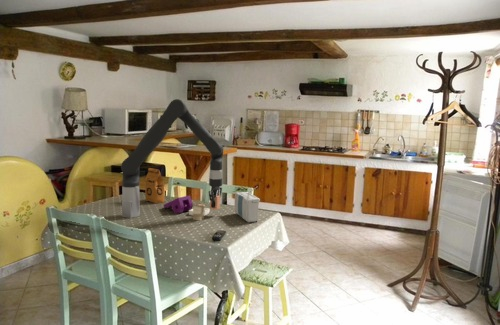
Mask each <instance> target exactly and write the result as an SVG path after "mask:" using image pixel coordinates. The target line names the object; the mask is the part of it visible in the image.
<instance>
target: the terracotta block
mask: <svg viewBox="0 0 500 325" xmlns="http://www.w3.org/2000/svg"><path fill="white" fill-rule="evenodd" d="M214 196H215V195H214ZM221 197H222V195H221V196H220V195H217V197H216V200H215V208H212V207H211V201H210V200H209V209H210V210H216V211H217V210H219V209H221Z"/></svg>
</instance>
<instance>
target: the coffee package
mask: <svg viewBox="0 0 500 325" xmlns="http://www.w3.org/2000/svg"><path fill="white" fill-rule="evenodd" d="M147 170H148V172H147V174H146V177H145V180H144V184H145V185H144V188H145V191H144V193H145V194H144V195H145V201H148V202H150V203H153V204H162V203H164V202H165V185H164V183H165V182H164V179H163V176H162V174H161V172H160V169H157V168H151V167H149V168H148V169H147Z"/></svg>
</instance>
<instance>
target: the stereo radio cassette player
mask: <svg viewBox="0 0 500 325" xmlns="http://www.w3.org/2000/svg"><path fill="white" fill-rule="evenodd" d="M256 188H258V185H257V186H256V187H254V188H253V189H251V191H250V192H248V191H240V192H238V191H237V192H234V213H236V214H237V216H239V217H240V218H242V219H243V220H244V221H246V222H247V223H253V222H254V223H255V222H256V221H257V222H258V221H259V205H260V204H259V203H260V201H261V199H260V198H259V197H258V196H256V195H255V194H252V192H253V191H254V190H255V189H256Z"/></svg>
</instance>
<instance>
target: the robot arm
mask: <svg viewBox="0 0 500 325" xmlns="http://www.w3.org/2000/svg"><path fill="white" fill-rule="evenodd" d="M178 119H180V120H181V121H182V122H183V123H184V124H185V125H186V126H187V127H188V129H189V130H190V131H191V132H192V133H193V134H194V136H195V137H196V138H197V139H198V140H199V141H200V142H201V143H202V144H203V145H204V147H205V148H206V149H207V151H208V152H209V153H210V154H211V155H210V162H209V172H208V173H209V175H208V177H209V178H208V185H209V187H211V188H210V190H209V191H208V198H209V199H208V200H209V202H210V201H211V207H212V208H215V200H216V197H217V195H220V196H221V197H222V191H223V187H222V186H223V157H224V146H223V144H222V143H221V142H217V141H216V139H215V138H214V137H213V135H212V134H211V132H209V130H208V129H207V128H206V127H205V126H204V125H203V124H202V123H201V122H199V120H197V119H196V117H195V116H194V115H193V114H192V113H191V111H190V110H189V109H188V106H187V105H186V103H185V101H183V100H182V99H180V98H179V99H178V98H176V99H173V100H171V101H170V102H169V104H168V106H167V107H166V109H165V110H164V112H163V113H162V114H161V116H160V117H159V118H158V119H157V120H156V121H155V122H154V123H153V125H152V126H151V127H150V128H149V129H148V130H147V131H146V133H145V134H144V135H143V137H142V138H141V140H140V141H139V142H138V144H137V146H136V147H135V148H134V150H133V151H132V152H131V154H129V155H128V157H126V158H125V159H124V160H123V161H122V162H121V165H120V169H121V171H122V179H121V180H122V182H121V184H122V186H121V188H122V200H121V217H122V218H129V219H133V218H137V217H139V216H140V215H141V212H140V211H141V209H140V208H141V207H140V206H141V205H140V203H141V202H140V201H141V200H140V198H141V197H140V179H141V178H140V174H141V173H140V169H141V168H140V166H141V165H142V164H143V162H144V161H145V159H146V158H147V157H148V156H149V155H150V154H151V153H153V151H154V150H155V149H156V148H157V147H158V146H159V145H160V144H161V142H162V141H163V140H164V139H165V137H166V136H167V134H168V132H169V130H170V128H171V127H172V125H173V124H174V122H176V120H178ZM214 195H215V196H214Z"/></svg>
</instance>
